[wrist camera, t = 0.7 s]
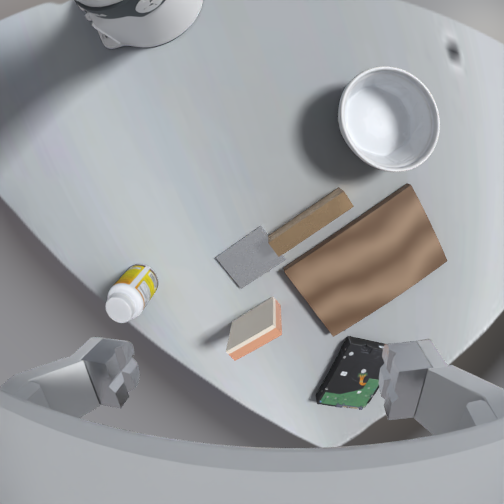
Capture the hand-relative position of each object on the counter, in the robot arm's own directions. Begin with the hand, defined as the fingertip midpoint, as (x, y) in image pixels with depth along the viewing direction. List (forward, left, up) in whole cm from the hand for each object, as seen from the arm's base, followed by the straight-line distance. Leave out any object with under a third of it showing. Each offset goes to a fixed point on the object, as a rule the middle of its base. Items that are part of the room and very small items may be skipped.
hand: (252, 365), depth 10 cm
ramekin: (+1, +18, -37) cm, 41 cm away
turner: (+7, -2, -37) cm, 37 cm away
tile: (+15, -13, -37) cm, 42 cm away
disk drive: (+36, -6, -37) cm, 52 cm away
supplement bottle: (0, -24, -37) cm, 44 cm away
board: (+18, +6, -36) cm, 41 cm away
